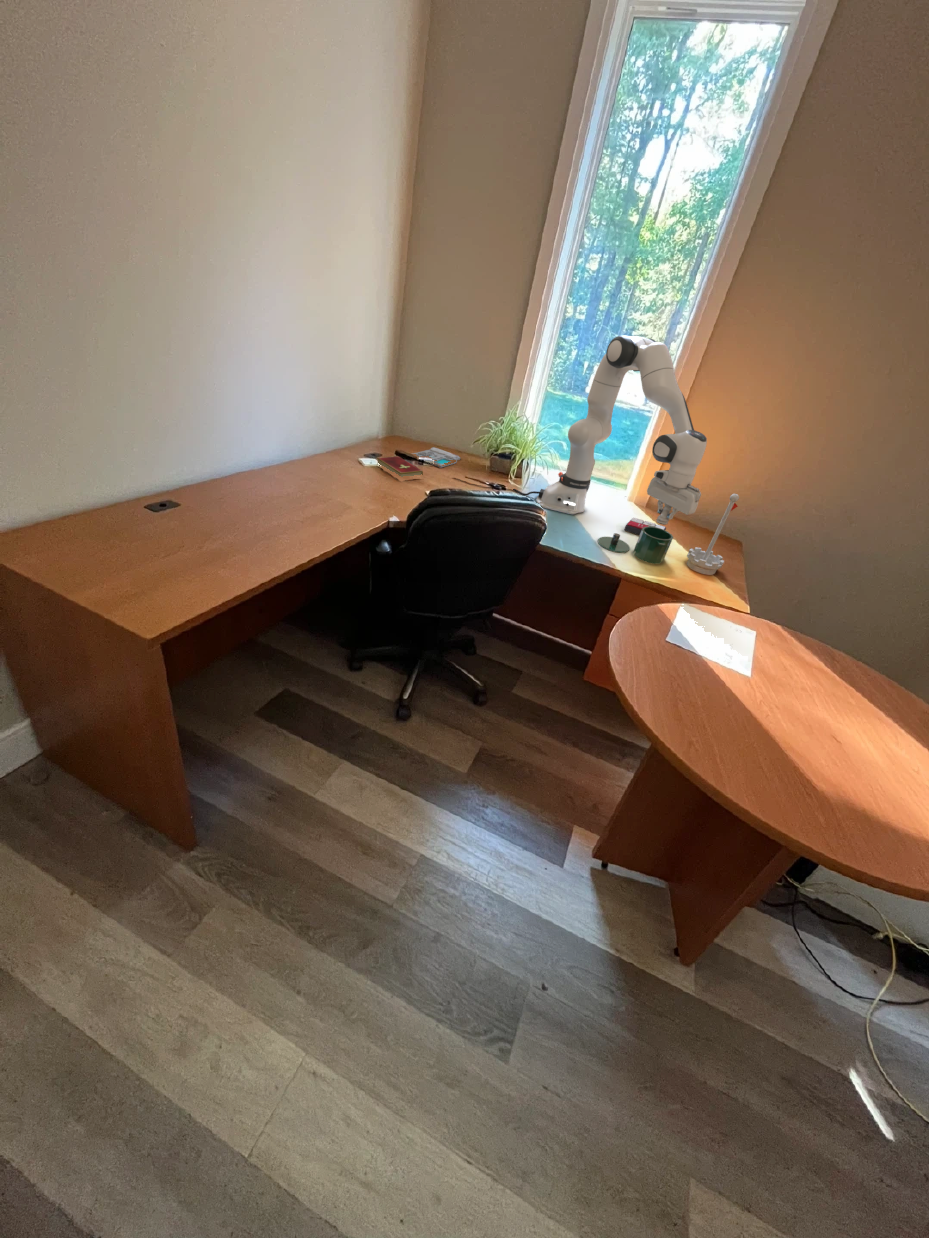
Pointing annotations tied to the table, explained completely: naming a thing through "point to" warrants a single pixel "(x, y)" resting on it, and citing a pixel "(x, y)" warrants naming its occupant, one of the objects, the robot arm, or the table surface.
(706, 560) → the flag stand
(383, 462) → the hardcover book
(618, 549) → the tin lid
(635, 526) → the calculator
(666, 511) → the rook chess piece
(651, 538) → the tin
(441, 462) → the office telephone
